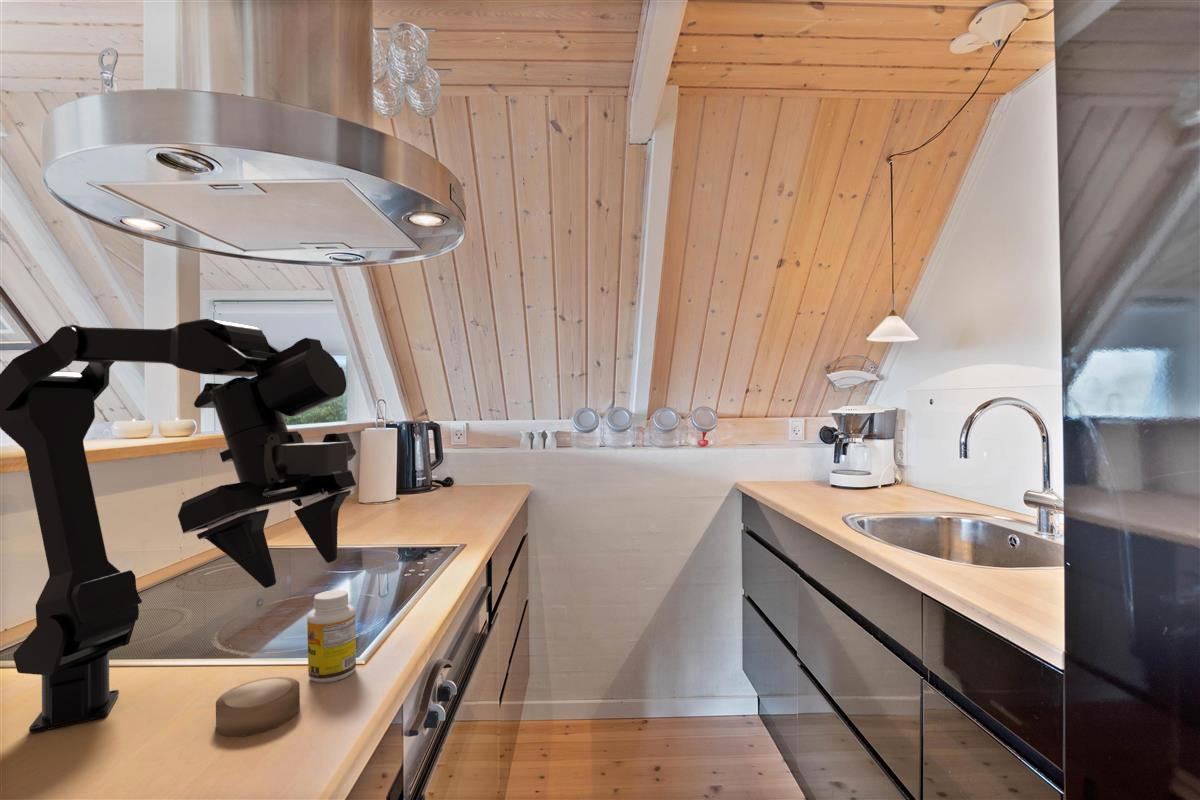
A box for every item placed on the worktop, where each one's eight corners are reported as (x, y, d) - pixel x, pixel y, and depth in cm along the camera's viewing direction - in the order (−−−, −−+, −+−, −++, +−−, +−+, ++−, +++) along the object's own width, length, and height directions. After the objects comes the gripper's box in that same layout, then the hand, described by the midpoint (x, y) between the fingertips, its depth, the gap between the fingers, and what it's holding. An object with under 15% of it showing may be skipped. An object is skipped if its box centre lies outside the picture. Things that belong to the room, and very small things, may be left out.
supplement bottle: (308, 670, 76) (307, 591, 76) (354, 661, 78) (353, 585, 79) (308, 688, 71) (306, 604, 71) (357, 678, 73) (356, 596, 74)
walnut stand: (218, 710, 66) (218, 686, 66) (298, 692, 70) (298, 669, 70) (212, 744, 59) (212, 718, 59) (301, 722, 63) (301, 697, 63)
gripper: (249, 404, 52) (306, 573, 50) (371, 405, 70) (415, 529, 69) (150, 449, 54) (203, 613, 52) (294, 438, 72) (336, 559, 71)
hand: (303, 573), depth 61 cm, fingers open, 9 cm apart
